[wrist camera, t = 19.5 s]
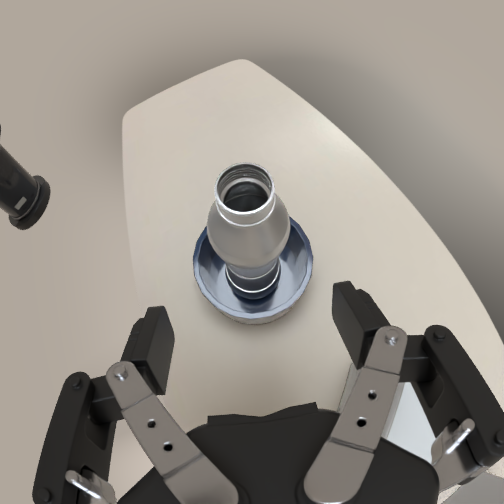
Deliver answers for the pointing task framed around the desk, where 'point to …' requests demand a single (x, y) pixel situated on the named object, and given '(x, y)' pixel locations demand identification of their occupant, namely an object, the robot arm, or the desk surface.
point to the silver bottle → (248, 229)
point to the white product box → (401, 419)
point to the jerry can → (480, 491)
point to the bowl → (266, 308)
